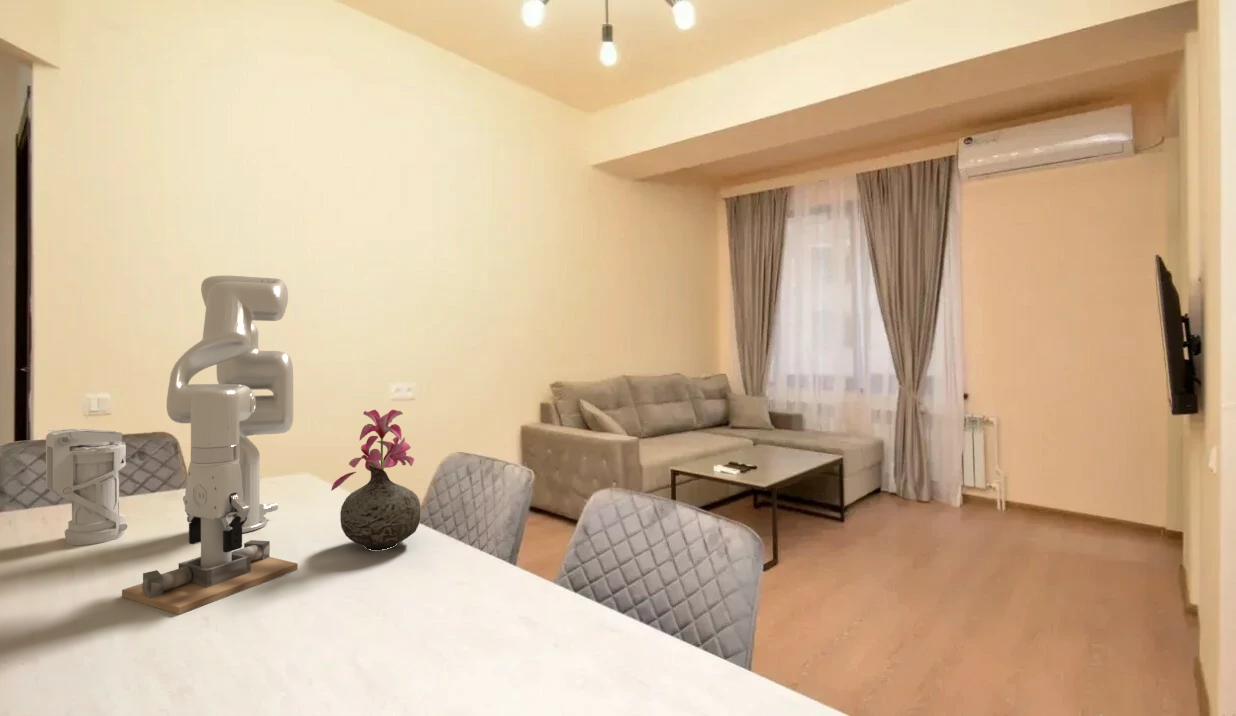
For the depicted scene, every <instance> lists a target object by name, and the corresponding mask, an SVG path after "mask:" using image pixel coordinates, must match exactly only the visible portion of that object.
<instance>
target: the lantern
mask: <svg viewBox="0 0 1236 716" xmlns="http://www.w3.org/2000/svg"><path fill="white" fill-rule="evenodd" d="M47 431H50V432H49V433H48V434H46V435H45V484H46V485H45V487H46V488H47V489H48V490H50V491H51V492H52V493H53V494H54V495H56V496H57V497H60V498H63V499H64V500H68V501H71V520H69V521H68V525H67V528H66V529H65V530H64V537H65V540H66V544H68V545H72V546H86V545H97V544H101V543H107V542H110V541H114V540H116V539H119V538H120V537H122V536H124V534H125V530H127V529H128V524H127V515H126V514H125V513H122V512H120V470H122V469H123V468H124V467H126V465H127V462H126V461H127V460H126V459H127V455H126V454H127V445H126V442H125V441H123V432H121V431H117V430H108V429H107V430H105V429H91V428H63V429H62V428H61V429H59V430H58V429H48V430H47Z"/></svg>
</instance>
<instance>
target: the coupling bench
mask: <svg viewBox="0 0 1236 716" xmlns="http://www.w3.org/2000/svg"><path fill="white" fill-rule="evenodd" d="M270 548H271V546H270V540H259V539H258V540H256V539H255V540H254V539H251V540H249V541H246V542H244V544H243V548H242V547H241V548H240V549H236V550H233V551H232V561H231V562H228V563H224V564H221V565H218V566H215V567H212V568H209V569H208V568H204V567H201V556H199V557H195V558H192V559H188V560H186V561H182V562H178V568H175V569H173V570H169V571H167V572H164V573H161V572H160V571H159V570H152V571H147V572H143V573H142V582H141V583H139V584H136V585H133V586H130V587H127V588H124V589H122V590H121V597H122V598H125V599H128V600H131V601H134V602H138V603H141V604H144V605H147V606H151V607H154V608H157V609H160V610H164V611H165V612H168V613H169V612H170V613H172V614H173V613H174V614H176V615H182V614H185V613H188V612H190V611H192V610H195V609H198V608H201V607H203V606H206V605H208V604H211V603H213V602H217V601H219V600H221V599H224V598H226V597H229V596H232V595H234V594H237V593H240V592H242V591H245V590H247V589H251V588H253V587H255V586H257V585H261V584H263V583H265V582H269V581H271V580H274V579H276V578H279V577H282V576H285V575H286V573H287V574H290V573H292V572H294V570H295V571H298V570H297V569H299V563H298V562H292V561H288V560H285V559H281V558H280V559H279V558H275V557H271V556H270V555H271V554H270V553H271V551H270V550H271V549H270ZM289 572H290V573H289ZM281 575H282V576H281Z"/></svg>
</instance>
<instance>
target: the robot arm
mask: <svg viewBox="0 0 1236 716" xmlns="http://www.w3.org/2000/svg"><path fill="white" fill-rule="evenodd" d="M200 287H201V288H200V291H201V297H202V300H203V304H204V306H205V313H204V314H205V315H204V325H203V330H202V331H203V333H202V339H201V340H200V341H199V342H196V344H194V345H192V347H190V348H189V349H187V350H186V352H184V353H183V354H182V355H181V356H180V357H179V359H177V361H176V362H175V364H174V366H173V367H172V369H171V371H170V376H169V383H168V388H167V396H166V412H167V415H168V417H169V419H170V420H171V421H173V422H174V423H179V424H190V462H189V465H188V469H187V474H186V481H185V492H184V493H185V495H184V496H183V497H182V501H183V504H184V512H185V513H186V515H187V517H186V522H188V544H189V545H195V544H199V543H201V518H204V519H209V520H218V519H220V518H221V520H222V522H223V524H224V526H225V528H226V530H224V531H223V552H226V553H227V552H230V551H232V552H233V551H236V550H239V549H242V547H243V533H249V532H252V531H255V530H259V529H261V528H263V527H265V526H266V525H267V524H268V523H267V521H268V520H267V517H265V515H266V514H267V513H271V512H275V511H278V509H279V505H278V504H277V503H276V502H274V503H270V504H267V505H266V504H265V503H263V504H262V503H261V502H260V495H261V494H260V489H261V488H260V481H261V480H260V478H261V476H260V475H261V474H260V473H261V472H260V471H261V468H260V465H261V464H260V461H261V460H260V459H261V457H260V451H259V449H258V447H257V446H256V445H255V444H254V443H253V442H252V441H251V440H250V439H249V438H248V437H249V436H260V435H262V436H263V435H279V434H285V433H287V432H289V431H290V430H291V428H292V426H293V423H294V422H293V421H294V366H293V361H292V359H291V356H289V355H288V353H286V352H284V351H280V350H260V348H259V330H258V327H256V325H255V324H254V321H256V322H257V321H259V322H263V321H264V322H267V321H268V322H277V321H280V320H282V318H283V317H284V315H285V314H286V309H287V306H288V301H289V300H288V299H289V291H288V287H287V285H286V283H285V281H283V280H282V279H280V278H274V277H273V278H272V277H256V276H243V275H242V276H241V275H214V276H213V275H212V276H209V277H206V278H204V279H203V281H202V282H201V286H200ZM213 366H216V380H217V383H207V384H206V383H202V384H201V383H200V384H199V383H198V384H197V383H196V384H191V383H190V381H191V380H192V379H193V377H194V376H195V375H197V374H198V373H199V372H201V371H203V370H206V369H208V368H211V367H213ZM189 383H190V384H189ZM254 390H255V391H257V390H259V391H262V390H268V391H271V392H272V394H269V395H268V394H267V395H264V394H263V395H256V394H255V393H254ZM230 511H231V512H230ZM227 512H229V513H227ZM231 517H232V521H231V522H230V520H229V518H231Z"/></svg>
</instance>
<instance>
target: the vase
mask: <svg viewBox="0 0 1236 716" xmlns="http://www.w3.org/2000/svg"><path fill="white" fill-rule="evenodd" d="M403 414H404V413H403V412H402V411H401V410H397V409H390V411H389V412H387V413H385V414H384V415H382V416H380V412H379V411H378V410H377V409H373V410H369V411H367V410H364V412H363V415H365V416H367V417H368V418H370V420H372V422H373V423H374V424H375V425H374V424H373V423H367V424H365V425H364V426H363V427H362V429H361V432H360V434H359V441H361V440H362V439H364V438H365V437H366V436H367V435H369V434H370V433H371V432H375V433H376V434H377V435H370V436H369V437H368V438H367V439H366V442H365V443H364V444H362V445H361V447H360V451H361V452H362V453H363V454H362V455H361V457H354V458H353V459H351V460H350V461H349V462H348V465H349V466H350V467H352V468H356V467H357V465H358V464H359V463H360V461H361V460H363V459H364V461H365V464H364V468H365V470H367V471H369V472H370V479H369V481H368V482H367V483H366V484H364V485H363V486H362V487H359V488H358V489H356V490H354V491H353V492H351V493H350V494H349V495H348V496H346V498H345V499H344V502H343V503H342V505H341V507H340V514H339V515H340V516H339V517H340V518H339V519H340V520H339V521H340V527H341V530H342V531H343V533H344V535H345V537H347V538H348V539H349V540H350V541H352V542H353V543H355V544H357V545H360V546H362V547H364V548H365V547H366V548H367V549H371V550H382V549H387V548H390V547H393V546H395V545H396V544H397V545H398V544H400V543H401V542H403V541H404V540H406V539H408V538H409V537H410V536H412V535H413V534H414V533H416V531H417V530H418V527H419V526H420V520H421V502H420V498H419V497H418V494H416V493H415V492H414V491H413V490H411V489H410V488H408V487H405V486H403V485H401V484H398V483H395V482H393V481H392V480H390V477H389V476H388V474H387V472H386V471H385V469H386V468H388V469H389V468H393V467H395V466H397V465H398V462H400V463H401V464H402V466H407V463H408V464H409V466H410V467H412V466H413V464H414V461H415V458H414V457H412V456H411V455H407V451H408V450H410V449H412V446H411V445H410V444H409V443H408V442H406V438H405V437H403V438H402V429H401V428H402V427H400V425H398V424H394V423H393V424H391V423H392V422H393V419H396V417H398V416H401V415H403ZM389 424H391V425H389ZM389 432H391V433H392V434H393V435H394V436H395V437H394V438H392V441H393V442H392V441H386V440H384V438H385V436H386V435H387V434H388V433H389ZM378 438H380V440H378ZM375 442H376V443H378V444H380V450H379V449H378V448H372V446H373V445H374V443H375ZM384 446H385V448H386V450H387V451H386V453H385V455H383V454H384ZM371 448H372V449H371ZM356 473H357V471H353V472H348V473H346V474H344V475H342V476H340V477H339V478H338V479H336V480H335V481H334V482H333V484H332V486H331V490H330V491H331V492H332V491H334V490H336V489H337V488H338V487H340V486H341V485H342V484H343V483H344V482H345V481H346V480H347V479H349V478H350V477H351V476H353V475H355V474H356Z"/></svg>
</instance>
